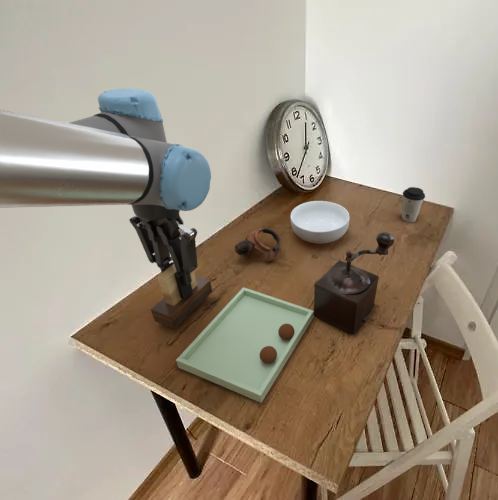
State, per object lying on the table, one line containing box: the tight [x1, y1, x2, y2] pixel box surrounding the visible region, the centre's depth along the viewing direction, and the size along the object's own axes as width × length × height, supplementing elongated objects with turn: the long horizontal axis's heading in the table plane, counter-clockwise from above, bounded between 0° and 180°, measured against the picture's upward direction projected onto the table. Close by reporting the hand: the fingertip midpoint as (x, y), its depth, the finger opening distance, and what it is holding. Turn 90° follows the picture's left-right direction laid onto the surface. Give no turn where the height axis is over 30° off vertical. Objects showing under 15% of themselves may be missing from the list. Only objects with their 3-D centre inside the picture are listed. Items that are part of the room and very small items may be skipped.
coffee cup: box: [401, 186, 426, 223], centre depth 112 cm, size 7×7×10 cm
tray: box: [175, 286, 314, 404], centre depth 71 cm, size 22×18×2 cm
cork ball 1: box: [260, 346, 277, 364], centre depth 66 cm, size 3×3×3 cm
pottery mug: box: [234, 227, 282, 263], centre depth 92 cm, size 12×9×8 cm
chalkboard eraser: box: [150, 264, 213, 330], centre depth 73 cm, size 12×5×10 cm, turn 158°
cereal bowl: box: [289, 200, 350, 245], centre depth 102 cm, size 17×17×7 cm
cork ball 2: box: [278, 324, 294, 340], centre depth 71 cm, size 3×3×3 cm
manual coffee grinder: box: [313, 231, 395, 336], centre depth 76 cm, size 16×11×18 cm
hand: (181, 292), depth 73 cm, fingers closed on chalkboard eraser, 2 cm apart
